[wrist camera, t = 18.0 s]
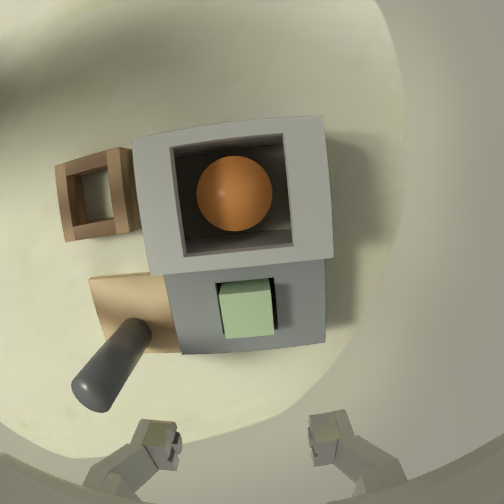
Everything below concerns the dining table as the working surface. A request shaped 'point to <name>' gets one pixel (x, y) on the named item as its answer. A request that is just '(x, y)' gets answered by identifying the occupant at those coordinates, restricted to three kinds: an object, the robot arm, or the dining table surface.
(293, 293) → the grey boxy piece
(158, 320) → the pad
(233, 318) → the on button
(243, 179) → the plunger
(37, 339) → the dining table surface
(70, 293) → the dining table surface
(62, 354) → the dining table surface
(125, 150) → the stand
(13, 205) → the dining table surface
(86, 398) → the grey rounded rod
